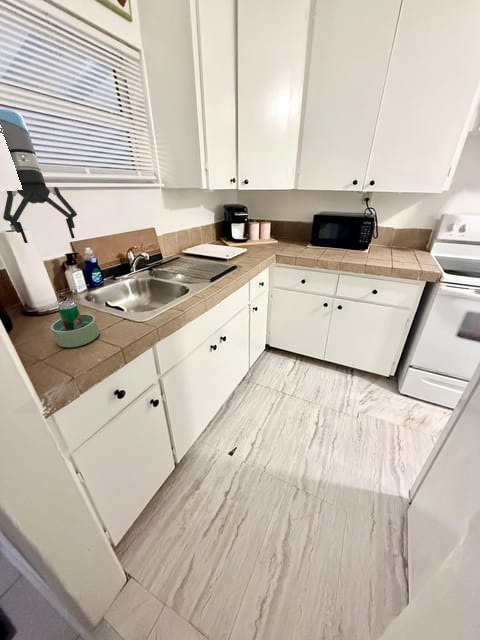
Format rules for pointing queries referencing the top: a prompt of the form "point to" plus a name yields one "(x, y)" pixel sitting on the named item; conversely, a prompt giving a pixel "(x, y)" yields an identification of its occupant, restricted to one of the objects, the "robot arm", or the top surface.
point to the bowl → (75, 332)
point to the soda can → (70, 315)
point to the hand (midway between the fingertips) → (50, 240)
